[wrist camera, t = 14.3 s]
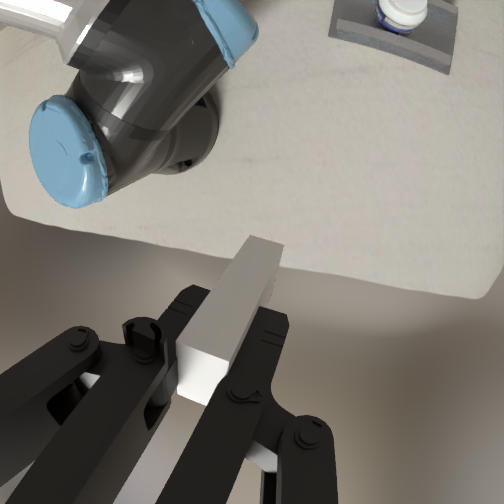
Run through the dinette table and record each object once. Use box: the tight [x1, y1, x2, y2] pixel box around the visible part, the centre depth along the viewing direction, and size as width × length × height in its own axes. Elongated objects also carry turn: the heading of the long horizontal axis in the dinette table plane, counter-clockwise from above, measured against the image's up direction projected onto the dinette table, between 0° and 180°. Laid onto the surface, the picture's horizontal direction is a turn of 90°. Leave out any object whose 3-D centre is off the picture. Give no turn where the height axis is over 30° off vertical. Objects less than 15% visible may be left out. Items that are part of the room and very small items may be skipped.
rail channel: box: [328, 0, 458, 75], centre depth 25 cm, size 16×10×4 cm, turn 81°
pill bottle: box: [375, 0, 427, 36], centre depth 22 cm, size 5×5×10 cm
